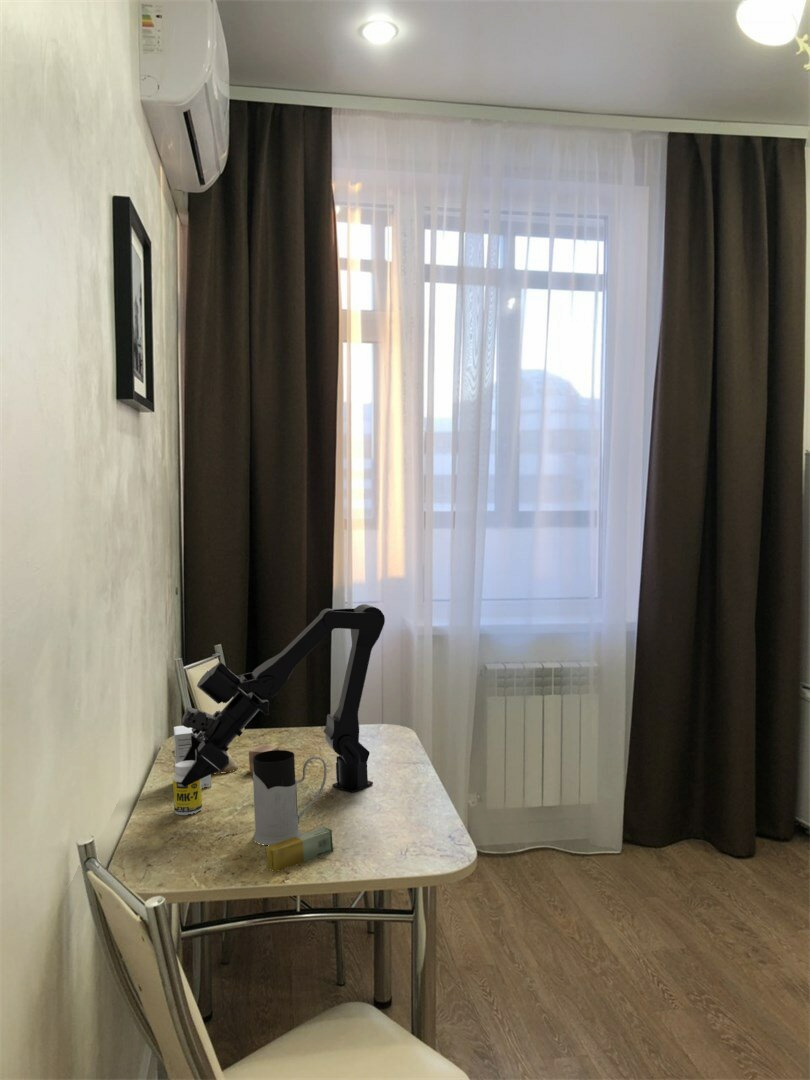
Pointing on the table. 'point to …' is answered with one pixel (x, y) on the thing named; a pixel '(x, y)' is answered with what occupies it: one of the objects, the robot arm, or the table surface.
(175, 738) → the supplement box
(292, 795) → the glass holder
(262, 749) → the tan cube
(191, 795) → the supplement bottle
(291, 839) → the medication box
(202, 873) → the table surface
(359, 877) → the table surface
